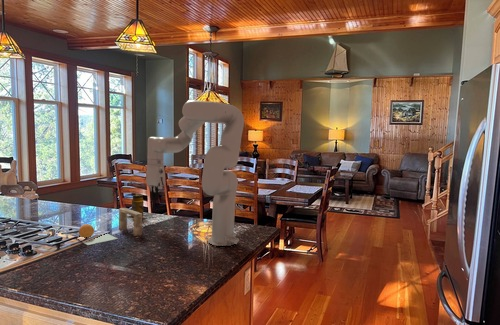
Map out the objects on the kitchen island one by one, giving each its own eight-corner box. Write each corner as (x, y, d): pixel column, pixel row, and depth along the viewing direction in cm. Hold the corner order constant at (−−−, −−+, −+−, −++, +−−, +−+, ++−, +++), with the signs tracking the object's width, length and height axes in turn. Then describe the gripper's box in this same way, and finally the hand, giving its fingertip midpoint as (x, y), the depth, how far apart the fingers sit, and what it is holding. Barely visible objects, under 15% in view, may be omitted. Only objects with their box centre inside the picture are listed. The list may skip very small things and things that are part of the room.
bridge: (124, 227, 171) (124, 207, 170) (141, 234, 161) (142, 213, 160) (118, 228, 169) (119, 208, 168) (135, 235, 159) (136, 214, 158)
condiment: (146, 217, 192) (146, 195, 191) (131, 219, 186) (131, 197, 185) (139, 214, 197) (140, 193, 196) (125, 216, 191) (125, 194, 190)
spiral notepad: (117, 238, 154) (117, 238, 154) (87, 245, 144) (87, 244, 144) (103, 232, 162) (103, 231, 162) (74, 237, 153) (74, 237, 153)
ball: (84, 242, 150) (97, 236, 154) (80, 230, 148) (94, 224, 152) (78, 238, 154) (92, 231, 158) (74, 226, 152) (88, 220, 156)
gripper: (171, 163, 170) (170, 201, 172) (153, 160, 180) (152, 196, 181) (157, 164, 164) (156, 203, 166) (140, 161, 174) (139, 198, 176)
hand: (154, 199), depth 174 cm, fingers closed
